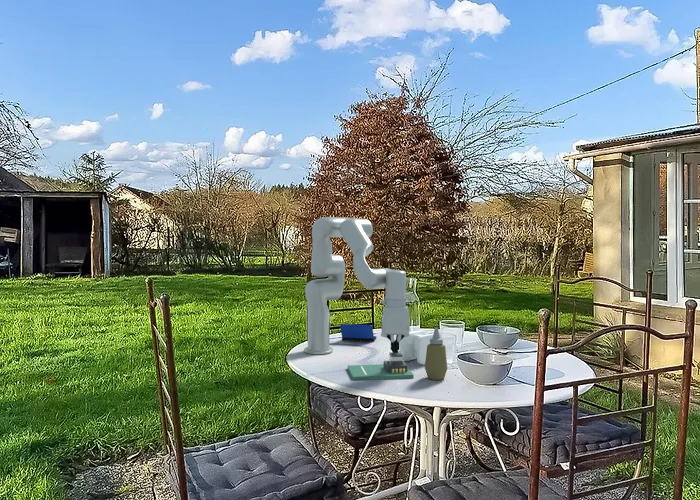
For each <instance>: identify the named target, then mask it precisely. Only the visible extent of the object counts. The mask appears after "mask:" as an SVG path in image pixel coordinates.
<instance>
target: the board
mask: <svg viewBox="0 0 700 500" xmlns="http://www.w3.org/2000/svg"><path fill="white" fill-rule="evenodd" d="M402 361H403V365H400V362H394V365H389V360H384V361H383V364H358V365H357V364H354V365H353V364H351V365H347V371H348V372H349V375H350V376H351V379H352V380H353V381H365V380H367V381H370V380H372V381H373V380H374V381H375V380H398V379H399V380H400V379H415V378H414V376H415V375H414V373H413V372H412V371H411V370H410V369H409V368H408V367H409V366H408V364H407V363H406V361H404V360H402Z"/></svg>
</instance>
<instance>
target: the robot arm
mask: <svg viewBox="0 0 700 500" xmlns="http://www.w3.org/2000/svg"><path fill="white" fill-rule="evenodd" d="M373 227H374V226H373V224H372V222H371V221H370V220H368V219H366V218H357V217H356V218H355V217H342V216H341V217H337V216H336V217H335V216H327V217H326V216H325V217H320V218H318V219H317V220H315V222H314V223H313V225H312V228H311V237H312V249H311V261H310V272H311V274H312V275H313V276H314V277H316V279H312V280H310V281H309V282H307V283H306V285H305V286H304V287H305V289H304V293H305V294H304V295H305V298H306V304H307V305H306V306H307V307H306V308H307V347H304V349H303V350H304V351H303V352H304V353H306V354H308V355H309V354H310V355H327V354H331V353H333V351H334V348H333V347H331V346H330V310H329V307H328V305H327V303H326V301H333V300H337V299H340V298H341V296H342V295H343V294H344V293H343V292H344V288H345V287H344V285H345V277H346V275H345V274H346V263H345V260H344V258H343V257H342V255H339V254H333V253H332V252H333V243H332V240H331V239H330V238H343V239H344V241H345V243H346V244H347V246H348V247H349V249H350V251H351V253H352V254H353V260H352V263H353V264H352V266H353V272H354V274H355V277H357V279H358V281H359V282H360V284H361V285H362V286H363V287H364V288H366V289H368V290H375V289H385V298H384V299H383V300H381V305H384V306H383V309H382V314H381V315H382V316H381V324H380V325H381V326H380V328H381V329H380V330H381V332H380V336H381V337H382V338H385V339H388V340H389V341H390V351H391V352H393V353H398V352H399V351H400V341H401V340H402V339H403V338H404V337H408V336H409V332H411V325H410V324H411V323H410V313H409V312H410V311H409V307H408V306H406V303H407V302H406V301H407V298H406V297H407V273H406V271H404V270H399V269H391V268H389V267H385V268H370V265H369V264H368V262H367V260H366V257H368V256H369V255H370V254H371V253H372V252H373V250H374V245H373V242H372V241H371V240H370V238H371V237H372V235H373V231H374V229H373ZM317 277H324V278H319V279H318V278H317ZM325 277H328V278H325ZM394 335H395V337H394Z"/></svg>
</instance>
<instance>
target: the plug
mask: <svg viewBox="0 0 700 500" xmlns="http://www.w3.org/2000/svg"><path fill="white" fill-rule="evenodd" d="M388 361H389V365H394V362H400V365H403V361H404V360H403V361H402V354H401V353H400V351H398V353H393V352H392V351H391V352H389V360H388Z"/></svg>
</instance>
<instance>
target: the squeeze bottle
mask: <svg viewBox="0 0 700 500" xmlns="http://www.w3.org/2000/svg"><path fill="white" fill-rule="evenodd" d="M433 333H434V334H433V338H430V343H431V344H429V345H427V352H426V361H425V365H424V370H425V373H426V376H427V379H429V380H433V381H440V380H441V381H442V380H444V379H445V378H446V377H445V376H446V374H447V371H448V360H447V349H446V346H445V344H443V343H444V339H443V337H442V338H440V336H439V333H440V332H439V328H434V330H433Z"/></svg>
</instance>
